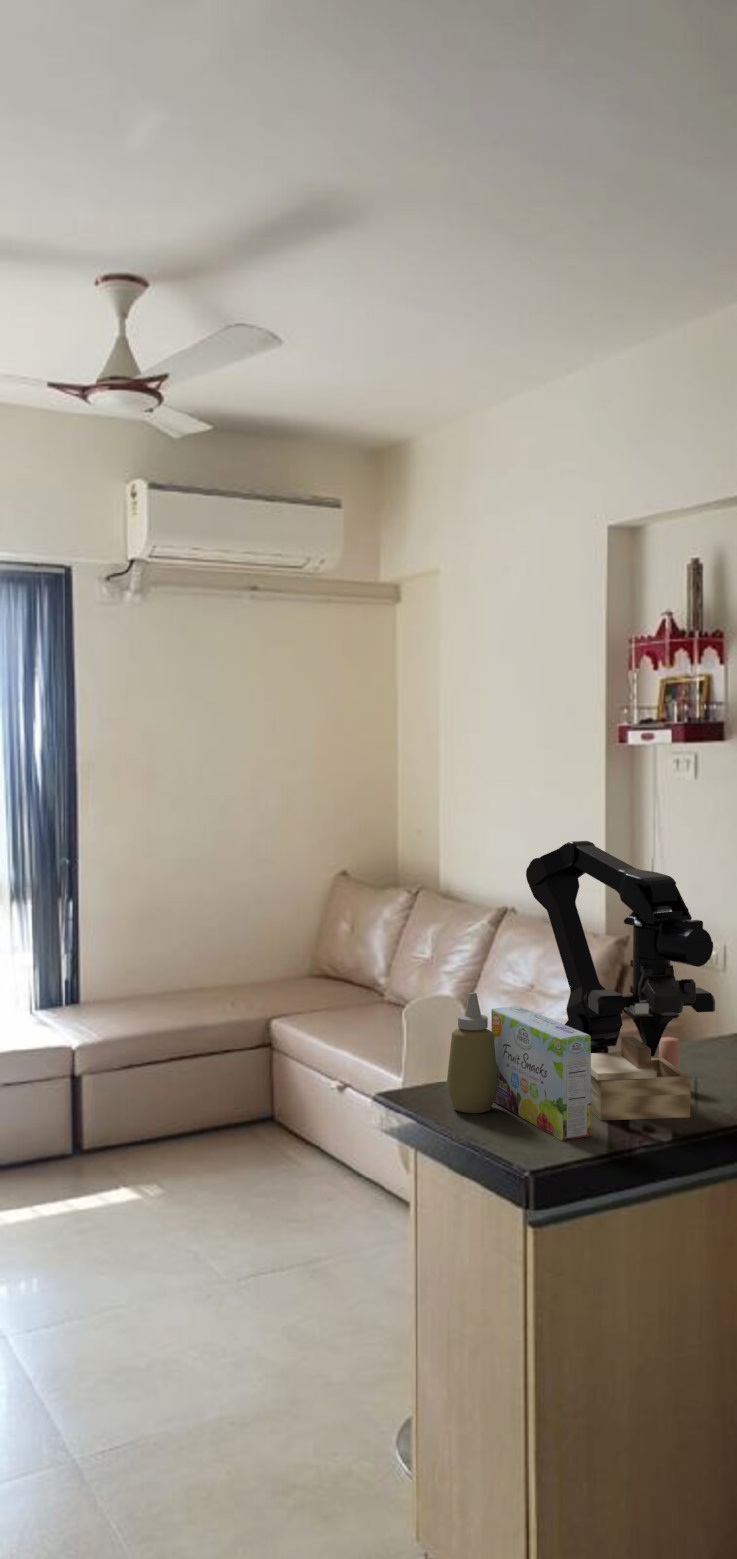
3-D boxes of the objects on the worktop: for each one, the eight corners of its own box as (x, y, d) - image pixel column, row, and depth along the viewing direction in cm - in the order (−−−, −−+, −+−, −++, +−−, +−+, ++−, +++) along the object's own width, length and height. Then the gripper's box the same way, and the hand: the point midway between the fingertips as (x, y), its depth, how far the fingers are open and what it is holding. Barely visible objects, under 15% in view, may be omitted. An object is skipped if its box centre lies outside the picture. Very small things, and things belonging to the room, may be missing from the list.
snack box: (488, 1102, 199) (489, 1007, 198) (519, 1098, 201) (520, 1004, 200) (560, 1142, 179) (561, 1036, 179) (593, 1137, 181) (594, 1033, 181)
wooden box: (662, 1094, 203) (662, 1057, 203) (690, 1117, 191) (690, 1077, 191) (577, 1097, 201) (578, 1060, 201) (600, 1120, 189) (601, 1080, 189)
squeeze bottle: (452, 1117, 190) (453, 999, 190) (441, 1102, 198) (441, 988, 198) (504, 1115, 192) (505, 997, 191) (491, 1100, 200) (491, 987, 199)
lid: (630, 1058, 202) (630, 1033, 202) (656, 1078, 190) (656, 1052, 190) (574, 1059, 201) (574, 1035, 201) (597, 1080, 189) (597, 1053, 189)
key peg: (661, 1090, 205) (662, 1041, 205) (656, 1085, 209) (657, 1037, 208) (681, 1090, 206) (681, 1041, 205) (675, 1084, 209) (676, 1037, 208)
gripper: (610, 967, 186) (609, 1071, 187) (730, 964, 189) (729, 1067, 189) (587, 954, 197) (586, 1052, 198) (701, 951, 200) (700, 1049, 200)
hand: (650, 1055), depth 196 cm, fingers closed
